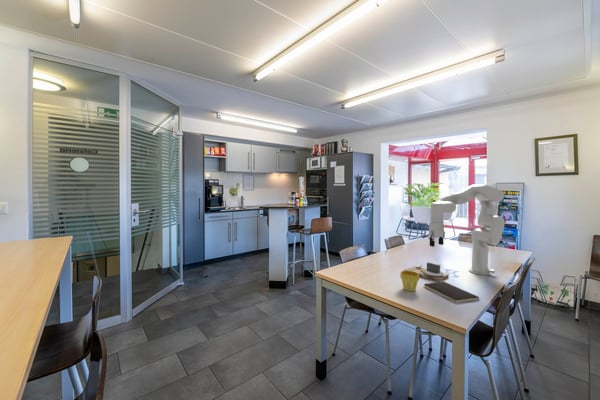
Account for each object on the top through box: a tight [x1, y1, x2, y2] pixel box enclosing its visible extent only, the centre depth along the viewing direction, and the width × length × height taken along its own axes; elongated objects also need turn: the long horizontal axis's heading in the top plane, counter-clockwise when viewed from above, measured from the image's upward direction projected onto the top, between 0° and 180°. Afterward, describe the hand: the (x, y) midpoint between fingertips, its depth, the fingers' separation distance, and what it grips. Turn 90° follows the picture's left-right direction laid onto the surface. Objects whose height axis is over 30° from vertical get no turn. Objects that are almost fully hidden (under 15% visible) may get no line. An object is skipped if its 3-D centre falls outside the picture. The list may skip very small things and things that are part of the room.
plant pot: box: [399, 270, 420, 292], centre depth 151 cm, size 10×10×10 cm
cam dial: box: [420, 261, 444, 277], centre depth 173 cm, size 15×12×7 cm
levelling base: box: [403, 265, 449, 283], centre depth 176 cm, size 24×14×4 cm, turn 38°
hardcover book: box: [423, 281, 480, 304], centre depth 146 cm, size 16×23×2 cm
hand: (436, 245), depth 172 cm, fingers open, 9 cm apart
